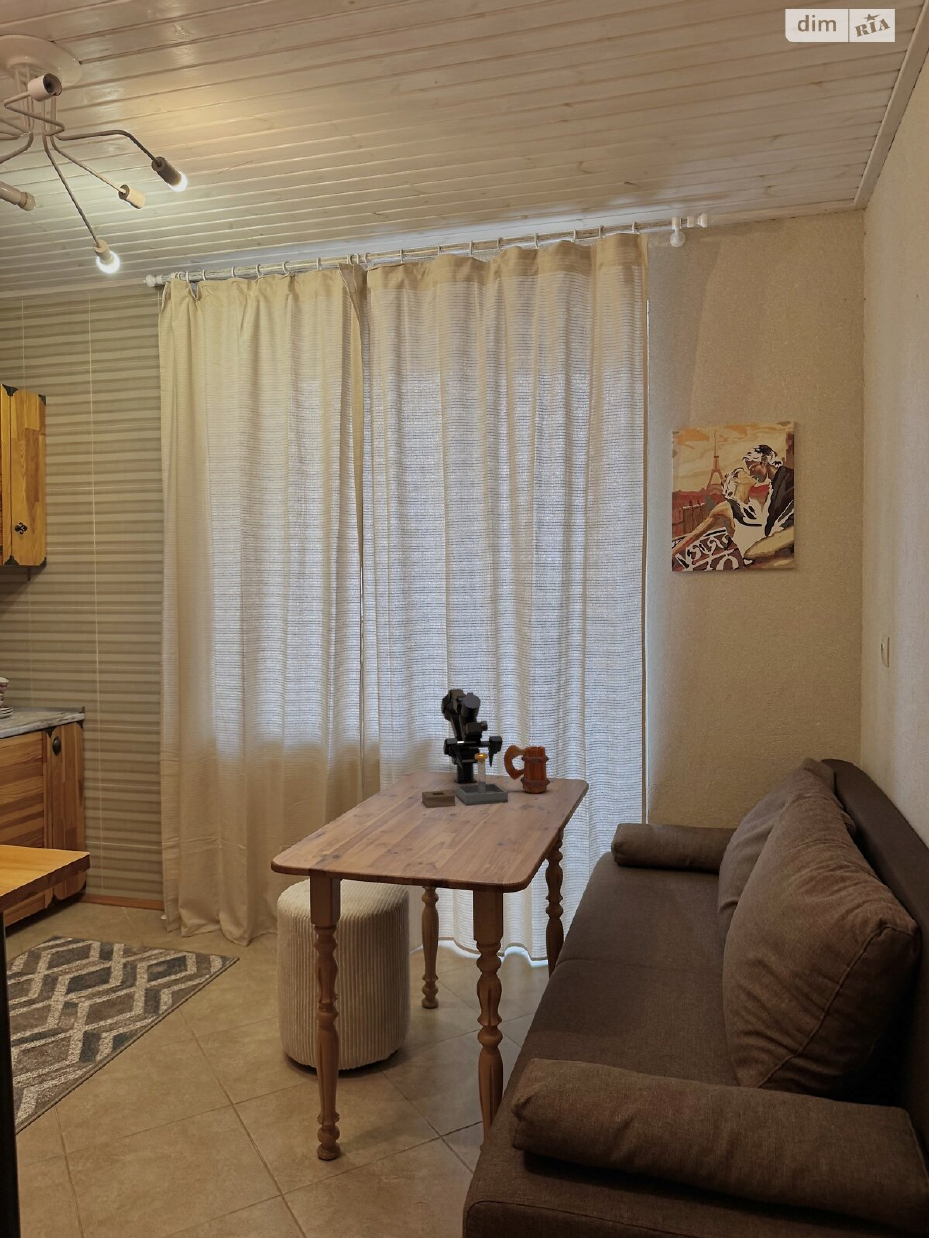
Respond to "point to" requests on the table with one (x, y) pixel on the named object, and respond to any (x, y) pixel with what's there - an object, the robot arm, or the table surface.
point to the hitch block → (438, 798)
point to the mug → (528, 767)
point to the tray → (471, 796)
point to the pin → (481, 772)
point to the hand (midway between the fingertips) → (476, 767)
